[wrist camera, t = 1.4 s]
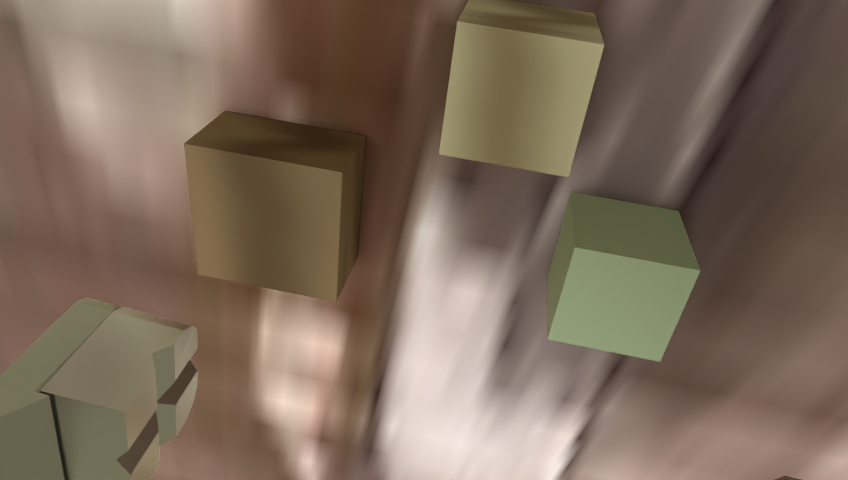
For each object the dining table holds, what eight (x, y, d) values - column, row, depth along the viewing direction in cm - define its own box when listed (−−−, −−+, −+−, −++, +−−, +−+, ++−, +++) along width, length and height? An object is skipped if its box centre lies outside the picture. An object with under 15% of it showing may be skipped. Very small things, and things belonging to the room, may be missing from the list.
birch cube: (594, 12, 25) (604, 44, 21) (565, 128, 27) (568, 177, 23) (472, -7, 25) (457, 21, 21) (454, 109, 28) (439, 154, 24)
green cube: (678, 210, 29) (700, 270, 24) (645, 294, 31) (660, 361, 27) (570, 190, 29) (574, 247, 25) (547, 275, 32) (547, 339, 28)
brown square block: (365, 136, 29) (342, 172, 26) (357, 256, 33) (336, 301, 30) (224, 111, 30) (184, 143, 26) (232, 232, 34) (198, 274, 30)
